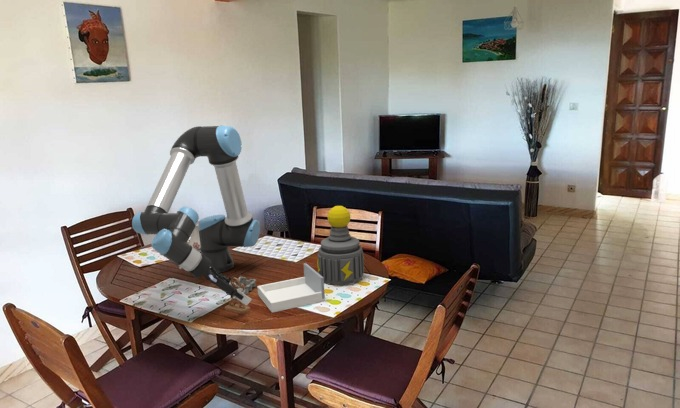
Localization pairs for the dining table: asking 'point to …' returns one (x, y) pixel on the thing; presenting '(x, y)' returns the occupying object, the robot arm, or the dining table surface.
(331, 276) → the decorative lamp
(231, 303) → the brown openwork figurine
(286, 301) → the holder tray
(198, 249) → the chinaware
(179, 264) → the robot arm
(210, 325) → the dining table surface
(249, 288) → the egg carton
